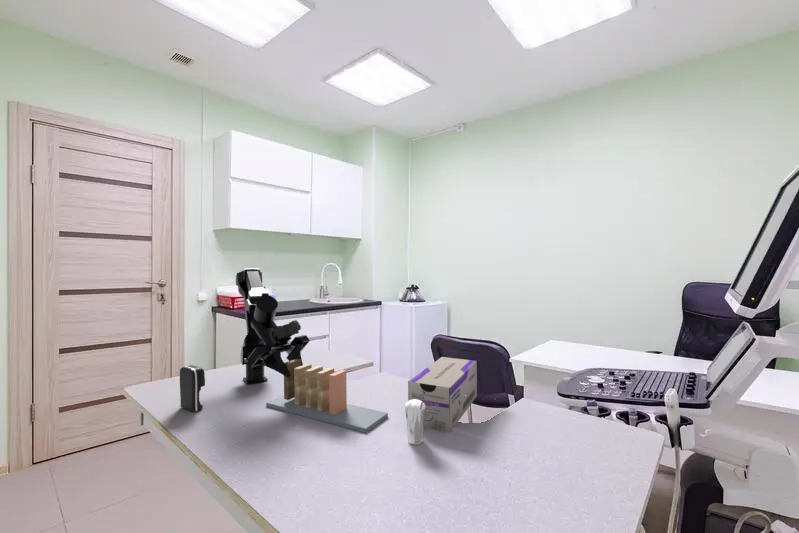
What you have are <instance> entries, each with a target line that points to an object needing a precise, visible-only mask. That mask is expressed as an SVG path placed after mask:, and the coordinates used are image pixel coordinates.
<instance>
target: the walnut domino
mask: <svg viewBox="0 0 799 533" xmlns="http://www.w3.org/2000/svg"><path fill="white" fill-rule="evenodd" d="M301 359H302V358H301ZM301 359H294V360H291V361H289V360H288V361H285V362H284V363H285V365H286V367H287V369H288V370H289V372H290V374H291V375H290V377H286V376H284V375H283V395H284V399H286V400H290V399H292V398H294V397H295V385H294V368H297V367H299V366H301Z"/></svg>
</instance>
